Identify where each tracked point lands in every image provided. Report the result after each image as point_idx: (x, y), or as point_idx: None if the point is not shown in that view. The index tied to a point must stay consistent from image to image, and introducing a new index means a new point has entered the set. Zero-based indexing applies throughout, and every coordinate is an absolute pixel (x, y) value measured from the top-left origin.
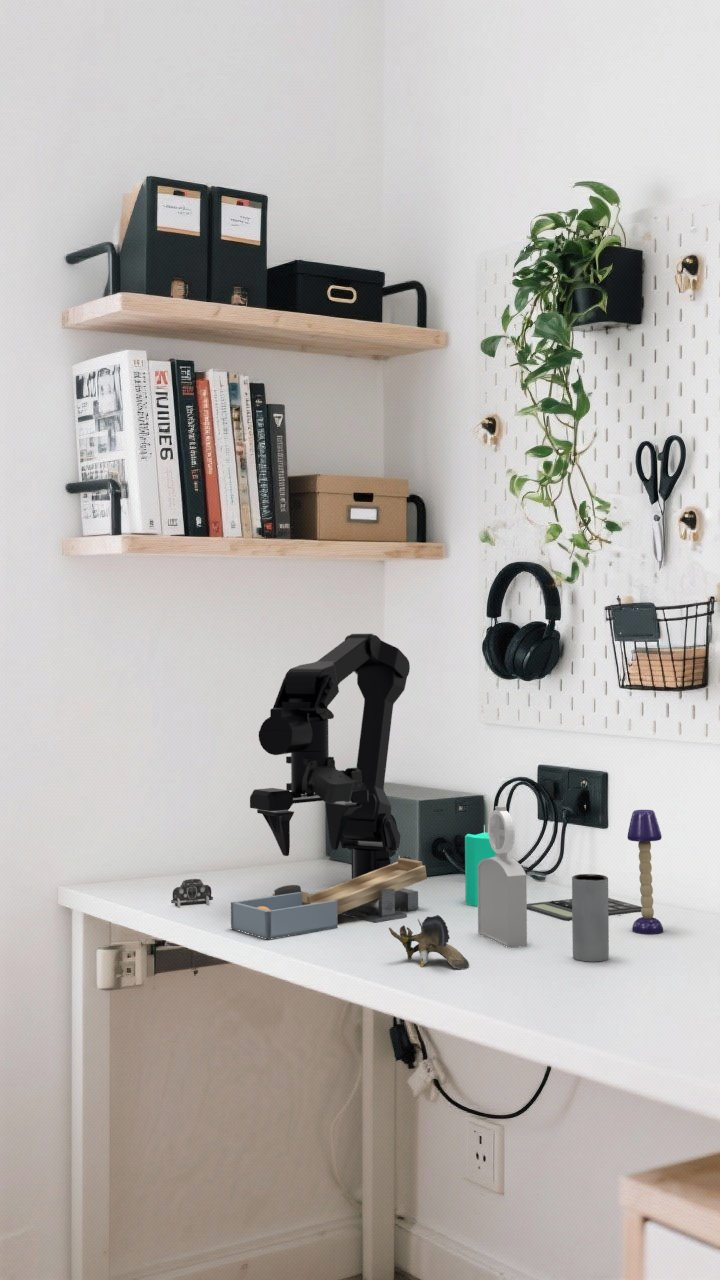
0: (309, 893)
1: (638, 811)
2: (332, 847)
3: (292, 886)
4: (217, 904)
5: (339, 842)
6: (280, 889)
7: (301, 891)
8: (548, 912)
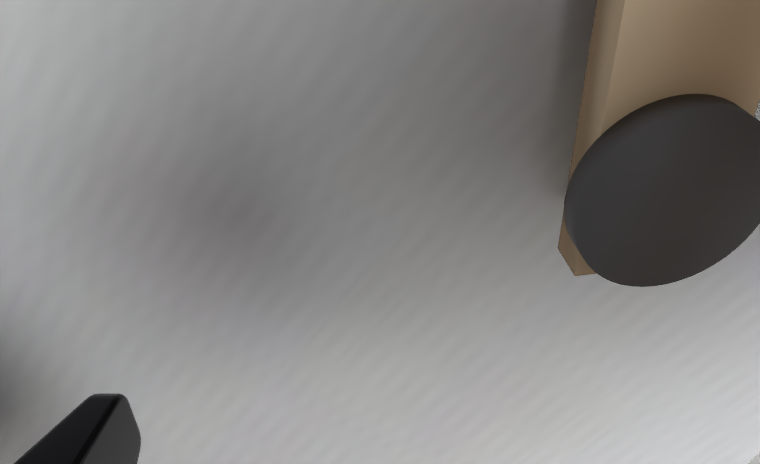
0: (625, 16)
1: None
2: (131, 445)
3: (609, 230)
4: (725, 440)
5: (33, 451)
6: (689, 246)
7: (599, 132)
8: None
